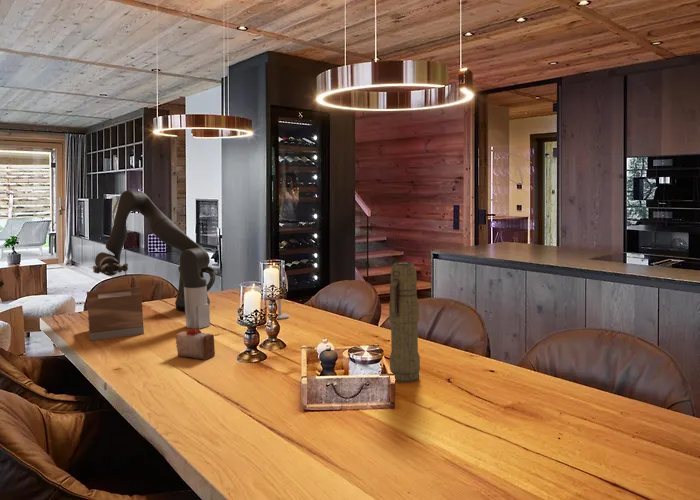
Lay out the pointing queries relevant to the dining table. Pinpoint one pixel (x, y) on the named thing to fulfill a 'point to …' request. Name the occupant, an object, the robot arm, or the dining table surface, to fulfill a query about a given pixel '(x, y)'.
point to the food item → (195, 344)
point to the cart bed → (116, 333)
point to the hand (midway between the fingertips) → (112, 270)
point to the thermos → (404, 322)
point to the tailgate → (114, 309)
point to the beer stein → (180, 297)
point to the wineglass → (280, 315)
